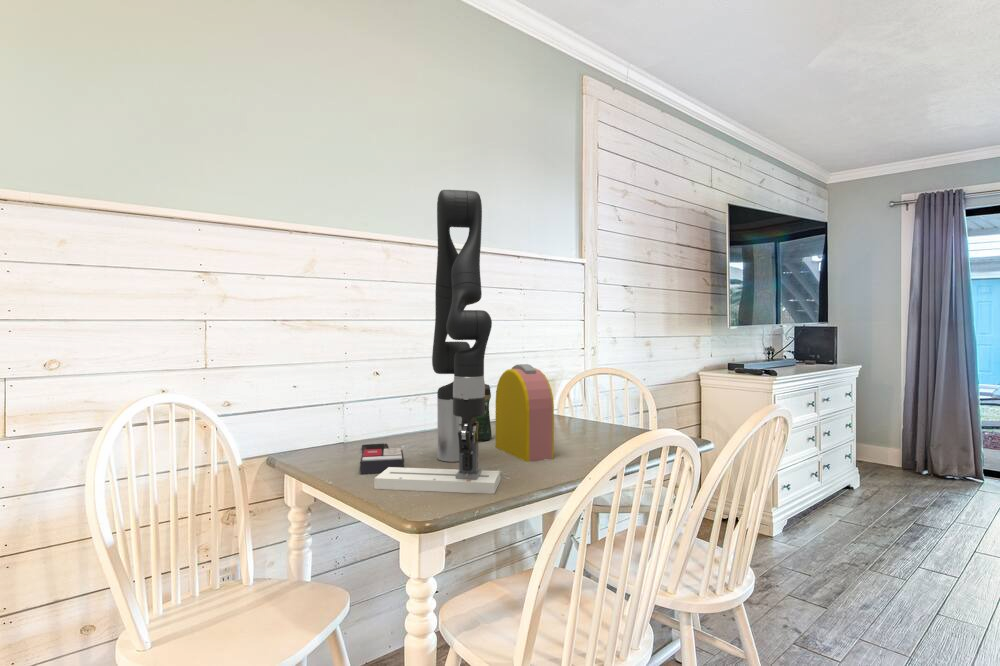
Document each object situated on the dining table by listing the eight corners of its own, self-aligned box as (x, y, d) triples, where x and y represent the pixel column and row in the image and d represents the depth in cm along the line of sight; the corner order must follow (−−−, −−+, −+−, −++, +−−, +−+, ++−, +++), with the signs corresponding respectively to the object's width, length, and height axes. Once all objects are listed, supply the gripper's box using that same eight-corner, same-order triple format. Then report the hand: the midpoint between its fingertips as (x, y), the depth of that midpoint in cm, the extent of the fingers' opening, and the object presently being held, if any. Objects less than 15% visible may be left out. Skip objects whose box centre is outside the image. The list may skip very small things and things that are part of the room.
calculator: (402, 446, 156) (403, 456, 141) (402, 462, 156) (404, 473, 141) (362, 448, 154) (360, 458, 139) (362, 464, 154) (360, 475, 139)
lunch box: (554, 458, 156) (554, 366, 156) (526, 462, 152) (526, 367, 152) (520, 444, 175) (520, 361, 174) (494, 446, 171) (494, 362, 171)
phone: (387, 443, 172) (390, 454, 158) (387, 446, 172) (390, 457, 158) (361, 444, 170) (362, 455, 156) (361, 448, 170) (362, 459, 156)
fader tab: (461, 471, 132) (461, 439, 132) (481, 472, 132) (481, 439, 132) (455, 478, 126) (455, 444, 126) (476, 479, 125) (477, 445, 125)
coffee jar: (485, 436, 187) (485, 382, 187) (494, 440, 180) (494, 384, 180) (458, 438, 183) (458, 383, 183) (466, 443, 176) (466, 385, 176)
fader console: (388, 477, 137) (388, 466, 137) (500, 481, 133) (500, 470, 133) (374, 488, 127) (374, 477, 127) (494, 493, 123) (494, 482, 123)
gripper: (459, 391, 136) (459, 460, 136) (446, 398, 122) (446, 475, 122) (489, 391, 135) (489, 461, 135) (479, 399, 121) (479, 477, 121)
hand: (468, 467), depth 129 cm, fingers closed on fader tab, 3 cm apart
